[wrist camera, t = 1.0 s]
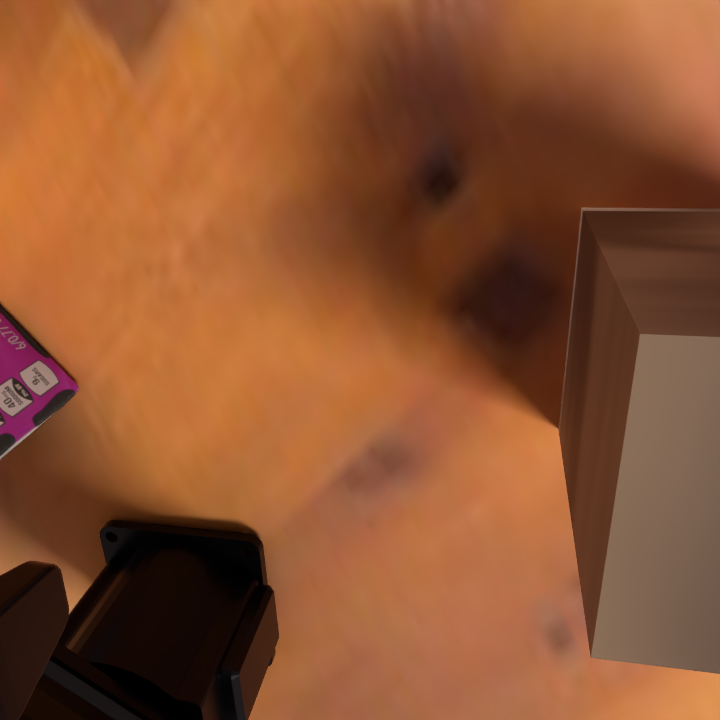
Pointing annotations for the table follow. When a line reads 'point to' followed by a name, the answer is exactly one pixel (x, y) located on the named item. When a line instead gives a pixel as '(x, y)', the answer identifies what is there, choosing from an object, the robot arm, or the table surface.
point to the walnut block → (646, 433)
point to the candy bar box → (27, 385)
